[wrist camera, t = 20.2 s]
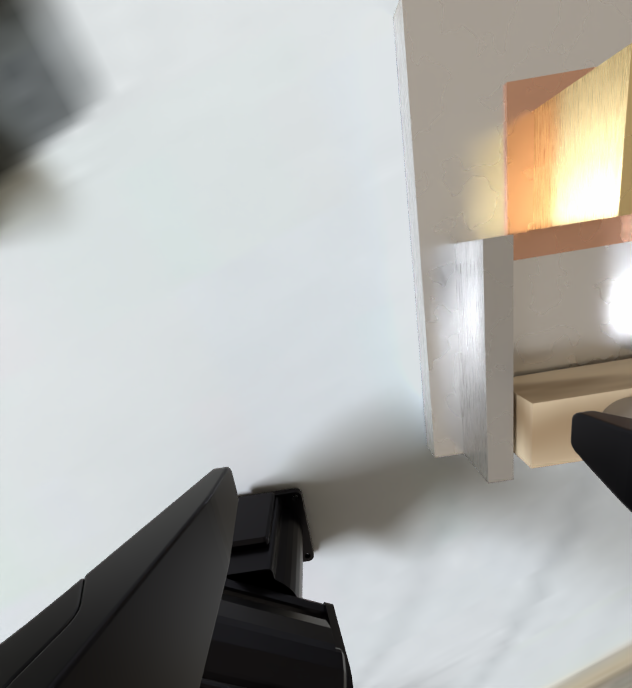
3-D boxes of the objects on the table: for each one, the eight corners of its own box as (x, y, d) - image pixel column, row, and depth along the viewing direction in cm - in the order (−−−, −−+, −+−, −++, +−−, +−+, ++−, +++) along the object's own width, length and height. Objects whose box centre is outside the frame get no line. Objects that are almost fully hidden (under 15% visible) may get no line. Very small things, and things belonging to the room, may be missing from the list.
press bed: (671, 407, 22) (758, 441, 18) (426, 445, 23) (454, 488, 18) (734, -43, 16) (892, -158, 12) (393, 17, 16) (424, -73, 12)
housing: (620, 215, 18) (746, 194, 12) (532, 229, 18) (622, 215, 13) (630, 93, 16) (777, 14, 11) (534, 109, 16) (637, 38, 11)
